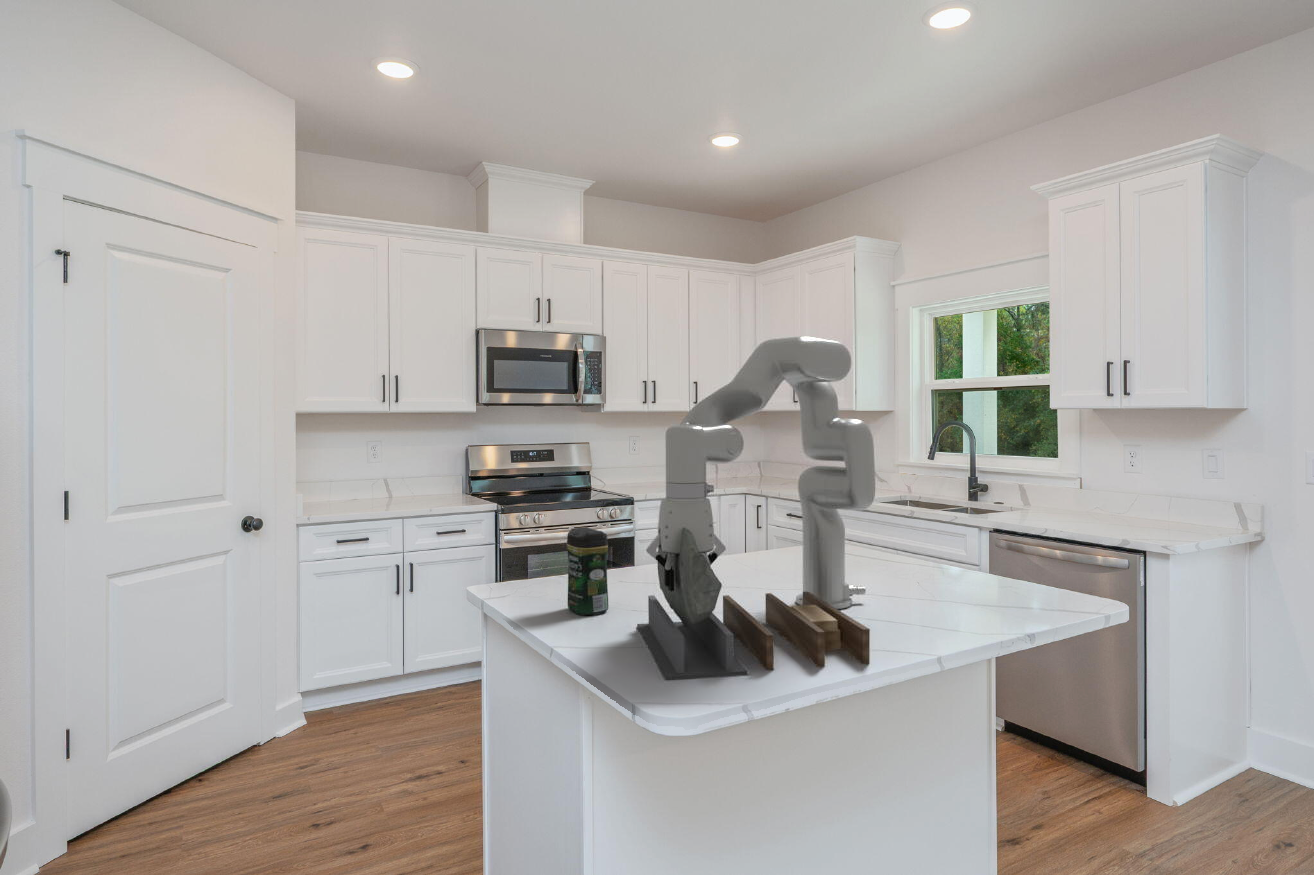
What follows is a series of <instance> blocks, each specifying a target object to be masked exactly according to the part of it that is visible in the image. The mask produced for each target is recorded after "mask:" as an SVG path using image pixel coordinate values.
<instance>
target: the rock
mask: <svg viewBox="0 0 1314 875" xmlns="http://www.w3.org/2000/svg"><path fill="white" fill-rule="evenodd" d="M657 549H658V550H657V552H658V553H659V554H660V555H661V556H662V557H663V558H664V556H665V553H664V552H663V551H662V550H661V549H660V548H659V547H658V548H657ZM672 569H673V570H674V591H669V589H668V588H667V586H665V584H664V567H663V566H662V565H661V564H660V563H659V562H658V561H657V576H658V582H659V588H660V590H661V591H662V594H663V596H664V599H665V600H666V602H667V603H668V606H669V608H670V609H671V610H673V612H674V614H675V615H676V616H677V618H678V619H679V620H680V622H682V623H683V625H684V626H685V627H686V628H687V627H690V626H695V625H697V624H700V623H703V622H704V621H705V620H706V619H707V618H708V617H709V616H710V615H711V613H713V612H714V611H715V609H716V605H717V603H718V599H719V596H720V593H721V589H722V587H723V584H722V582H721V581H720V580H719V578H718V576H717V575H716V574H715V572H714V570H713V569H712V567H711V566H710V565H709V563H708V561H707V559H706V557H705V556H704V555H703V554H701V553H699V551H698V548H697V545H696V542H695V539H694V536H693V534H692V532H691V531H690V530H688V529H687V528H683V530H682V539H681V549H680V554H675V557H674V560H673V563H672Z"/></svg>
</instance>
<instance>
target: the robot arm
mask: <svg viewBox="0 0 1314 875" xmlns="http://www.w3.org/2000/svg"><path fill="white" fill-rule="evenodd" d="M851 368H852V356H851V352H850V351H849V349H848V348H847V346H845V345H844V344H843V343H842V342H840V341H836V340H830V339H824V338H818V337H811V336H792V337H791V336H790V337H781V338H773V339H772V338H771V339H767V340H764V341H763V342H761V343H760V344H758V346H757V347H756V348H755V349H754V350H753V352H752V353H751V354H750V356H749V357H748V359H746V361H745V363H744V364H743V365H742V367H741V368H740V369H739V371H738V372H737V373H736V375H735V376H734V377H733V378H732V380H731V381H730V382H729V383H727V384H726V385H723V386H722V387H720V388H719V389H717V390H715V391H714V392H712V393H711V394H710V395H708V396H706V397H705V398H703V399H702V400H700V401H699V402H698V403H696V404H695V405H694V406H693V407H692V408H691V409H690V410H689V411H688V413H687V414H686V415H685V417H684V418H683V419H682V420H681V422H680V424H678V425H671V426H669V427H668V428H667V429H666V431H665V498H661V500H660V505H659V510H658V522H657V523H658V524H657V535H656V536H655V537H654V539H653V540H652V541H651V543H650V544H649V545H648V546H647V548H646V549H645V551H646V553H647V554H648V555H650V556H651V557H652V558H653V559H654V560H656V562H657V563H658V562H659V563H660V564H661V565H662V566H663V567H664V584H665V586H667V588H668V589H669V591H674V570H673V569H672V563H673V560H674V557H675V554H680V549H681V539H682V530H683V528H687V529H688V530H690V531H691V532H692V534H693V536H694V539H695V542H696V545H697V548H698V551H699V553H701V554H703V555H704V556H705V557H706V559H707V561H708V563H709V565H710V567H711V565H712V564H713V563H714V562H715V561H716V560H717V559H718V557H719V556H721V555H722V554H724V552H725V551H726V550H727V547H726V546H725V544H724V543H723V542H722V541H721V540H720V538H719V537H718V536H716V534H715V526H714V520H713V518H714V516H713V509H712V505H711V499H710V498H708V494H710V493H714V492H715V486H714V485H713V484H711V485H710V484H708V482H707V463H709V464H728V463H731V462H734V461H735V460H737V459H738V458H739V457H740V456H741V454H742V452H743V450H744V445H745V444H744V443H745V442H744V437H743V435H742V433H741V432H740V431H739V430H738V428H737V427H735V426H733V425H730V424H729V423H731V422H733V421H737V420H740V419H742V418H747V417H749V416H752V415H753V414H756V413H759V412H760V411H762V410H763V409H764V408H765V407H766V405H767V404H768V402H769V401H770V400H771V398H772V397H773V395H774V394H775V392H776V391H777V389H779V387H780V385H781V384H782V383H783V381H784V382H786V383H787V384H788V385H789V386H790V387H791V388H792V390H794V392H795V394H796V396H797V398H798V402H799V411H800V425H801V440H802V442H801V443H802V449H803V452H804V454H805V455H806V457H808V458H809V459H810V460H814V461H815V460H816V461H821V462H823V461H825V462H844V466H830V465H829V466H828V465H815V466H810V467H807V468H806V469H805V470H803V471H802V472H801V474H800V475H799V478H798V482H797V491H798V492H797V493H798V497H799V502H800V507H801V516H802V593H799V594H798V595H796V596H795V602H796V603H797V604H798V605H803V592H810V593H811V594H813V595H815V596H816V597H818V598H820V599H821V600H823V601H824V602H826V603H828V604H829V605H831V606H833V607H834V608H836V609H838V610H840V609H846V608H849V607H851V606H852V605H853V599H852V598H851V597H853V595H858V596H859V595H863V596H864V595H866V591H867V590H866V587H865V586H864V585H855V584H853V585H852V584H850V585H849V584H847V583H846V528H845V523H844V520H843V518H842V516H841V514H840V512H839V511H838V510H844V511H845V510H846V511H857V512H859V511H866V510H868V509H869V508H870V507H871V506H872V505H873V503H874V501H875V497H876V468H875V467H876V465H875V464H876V463H875V449H874V448H875V445H874V438H873V432H872V431H871V429H870V427H869V425H867V423H866V422H865V421H863V420H861V419H855V418H841V417H840V413H839V412H840V410H839V401H838V395H837V392H836V391H835V388H834V387H833V384H831V383H834V382H840V381H842V380H843V379H845V377H847V375H849V373H850V370H851ZM658 547H659V548H660V549H661V550H662V551H663V552H664V553H665V556H664V558H663V557H662V556H661V555H660V554H659V553H658V550H657V549H658ZM708 553H709V554H708Z"/></svg>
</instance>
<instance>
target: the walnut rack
mask: <svg viewBox="0 0 1314 875" xmlns="http://www.w3.org/2000/svg"><path fill="white" fill-rule="evenodd" d="M802 594H803V605H816V606H818V607H819V608H821V609H822V610H823V611H825V612H826V613H828V614H829V615H831V616H832V617H833V618H835V619H836V620H838V629H839V630H840V641H841V649H842V650H843V651H845V652H846V653H847V654H849V655H850V656H852V658H854V659H855V660H857V661H858V662H860V663H861V664H863V665H864V664H866V665H867V664H870V662H871V661H870V657H871V656H870V652H871V651H870V649H871V648H870V646H871V645H870V644H871V643H870V631H871V630H870V628H868V627H867V626H865V625H864V624H862V623H860V622H859V621H857V620H856V619H854V618H852V617H851V616H849V615H848V614H846V613H844V612H842V611H840V609H836V608H834V607H833V606H831V605H829V604H828V603H826V602H824V601H823V600H821V599H820V598H818V597H816V596H815V595H813V594H811V593H810V592H803V591H802ZM722 623H723V624H724V625H725V626H726V627H727V628H728V629H729V630H730V631H731V633H732V634H733V637H735V639H737V641H738V642H739V643H740V644H741V645H742V646H743V647H744V648H745V649H746V650H747V651H748V652H749V653H750V654H751V656H753V657H754V659H756V660H757V662H758V663H759V664H760V665H761V666H762V667H763V668H764V669H765V670H766V671H773V670H775V669H774V668H775V667H774V665H775V662H774V660H775V659H774V658H775V657H774V655H775V654H774V653H775V652H774V650H775V649H774V645H775V644H774V634H773V633H772V632H771V631H770V630H769V628H768V629H767V627H766V626H764V625H763V624H762V623H761V622H760V621H758V619H757V618H755V617H754V616H753V615H751V613H750V612H749V611H747V610H746V609H745V608H744V607H743V606H742V605H740V604H739V603H738V602H737V601H736V600H734V599H733V598H732V597H731V596H730V595H729V594H728V595H722ZM765 623H766V624H767V625H769V626H770V627H771V628H772V629H773V630H774V631H775V632H777V633H778V634H779V635H780V636H781V637H783V638H784V639H785V640H786V642H788V643H790V644H791V645H792V646H793V647H794V648H795V649H797V650H798V652H800V653H802V655H804V656H805V657H806V658H807V659H808V660H810V661H811V662H812V663H813V664H814V665H815V666H816V667H818V668H821V667H826V650H825V631H823V630H822V629H820V628H819V627H818V626H816V625H815V624H813V623H812V622H811V621H809V620H808V619H806V618H805V617H804V616H802V615H801V614H799V613H798V612H797V611H795V610H794V609H792V608H791V605H788V604H787V603H786V602H784V601H782V600H781V599H779V598H778V597H777V596H775V595H774V594H773V593H772V592H769V593H766V592H765Z"/></svg>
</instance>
